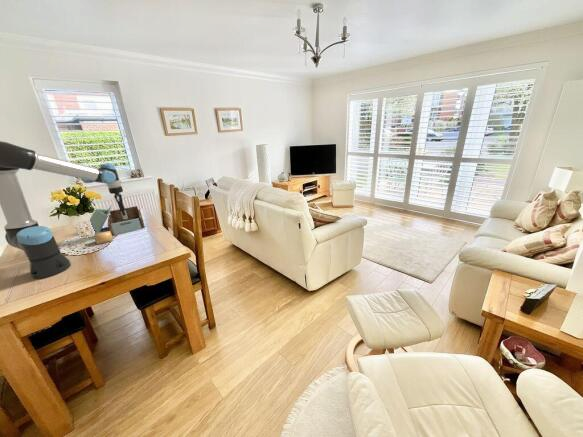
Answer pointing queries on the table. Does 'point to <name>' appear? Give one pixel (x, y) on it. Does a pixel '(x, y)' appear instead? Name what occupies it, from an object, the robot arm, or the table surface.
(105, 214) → the planter
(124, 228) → the panel
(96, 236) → the peach pillar candle
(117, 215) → the brown open rectangular box
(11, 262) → the table surface
